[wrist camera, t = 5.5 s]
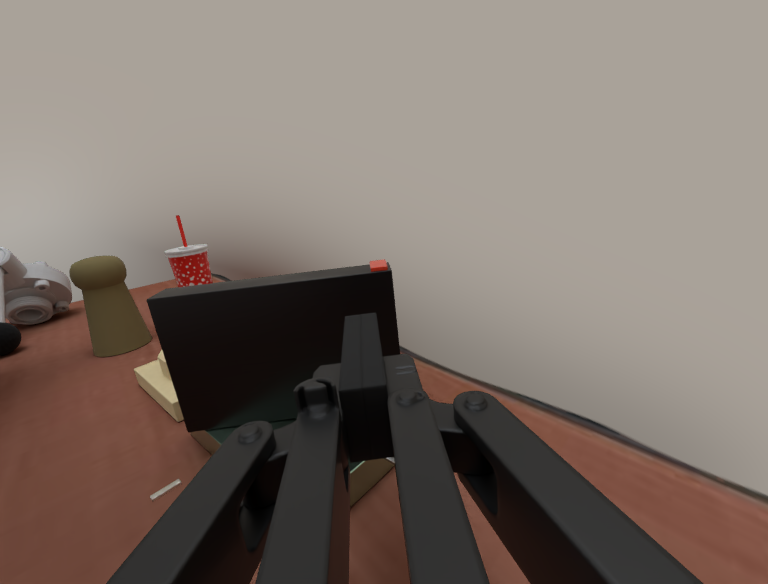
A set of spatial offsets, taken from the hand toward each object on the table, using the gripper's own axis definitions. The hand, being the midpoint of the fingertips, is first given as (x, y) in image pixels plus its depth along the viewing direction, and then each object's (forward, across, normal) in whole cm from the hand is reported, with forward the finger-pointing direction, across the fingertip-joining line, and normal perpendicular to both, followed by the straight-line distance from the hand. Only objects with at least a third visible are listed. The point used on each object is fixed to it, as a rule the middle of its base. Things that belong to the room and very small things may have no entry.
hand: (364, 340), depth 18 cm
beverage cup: (+43, -27, -9) cm, 51 cm away
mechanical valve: (+37, -50, -9) cm, 63 cm away
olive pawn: (+27, -30, -9) cm, 41 cm away
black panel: (+5, -5, -7) cm, 10 cm away
